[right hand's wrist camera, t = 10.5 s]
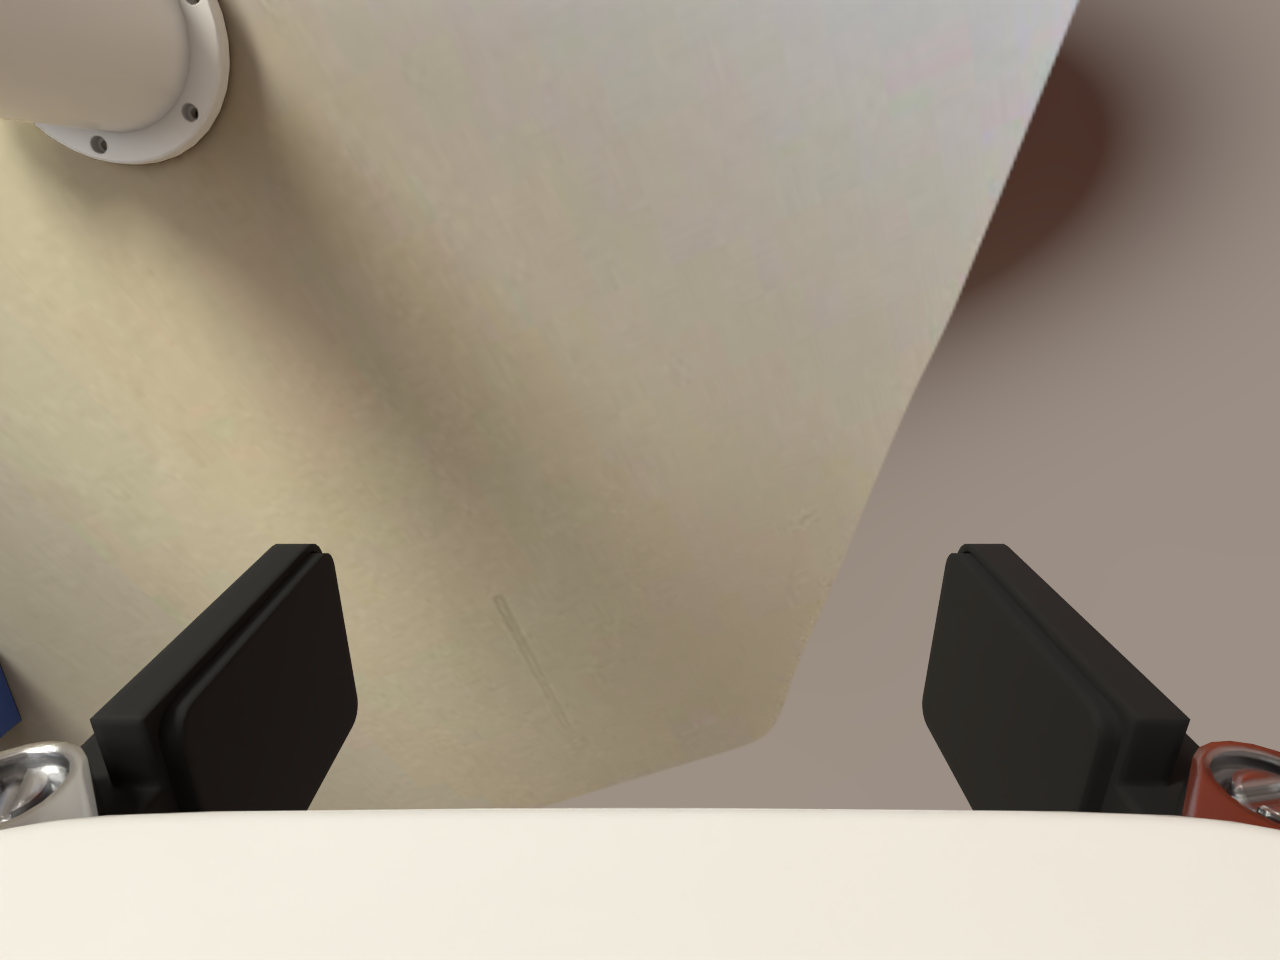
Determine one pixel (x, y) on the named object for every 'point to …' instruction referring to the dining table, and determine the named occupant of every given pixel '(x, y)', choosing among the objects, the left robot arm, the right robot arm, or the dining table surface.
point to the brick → (7, 707)
